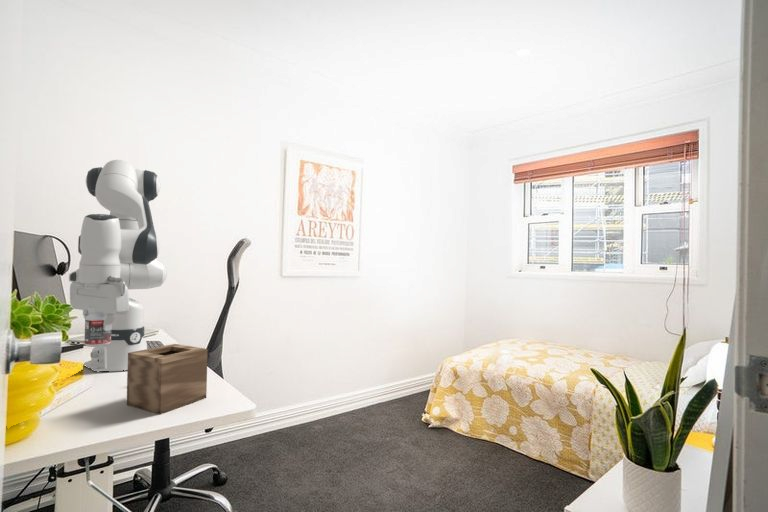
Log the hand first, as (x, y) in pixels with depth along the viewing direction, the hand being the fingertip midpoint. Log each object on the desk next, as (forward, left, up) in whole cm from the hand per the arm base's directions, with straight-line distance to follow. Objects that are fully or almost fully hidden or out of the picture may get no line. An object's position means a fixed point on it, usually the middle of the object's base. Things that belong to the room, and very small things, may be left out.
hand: (98, 328), depth 105 cm
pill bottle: (0, 0, -4) cm, 4 cm away
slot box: (+10, +13, -21) cm, 27 cm away
